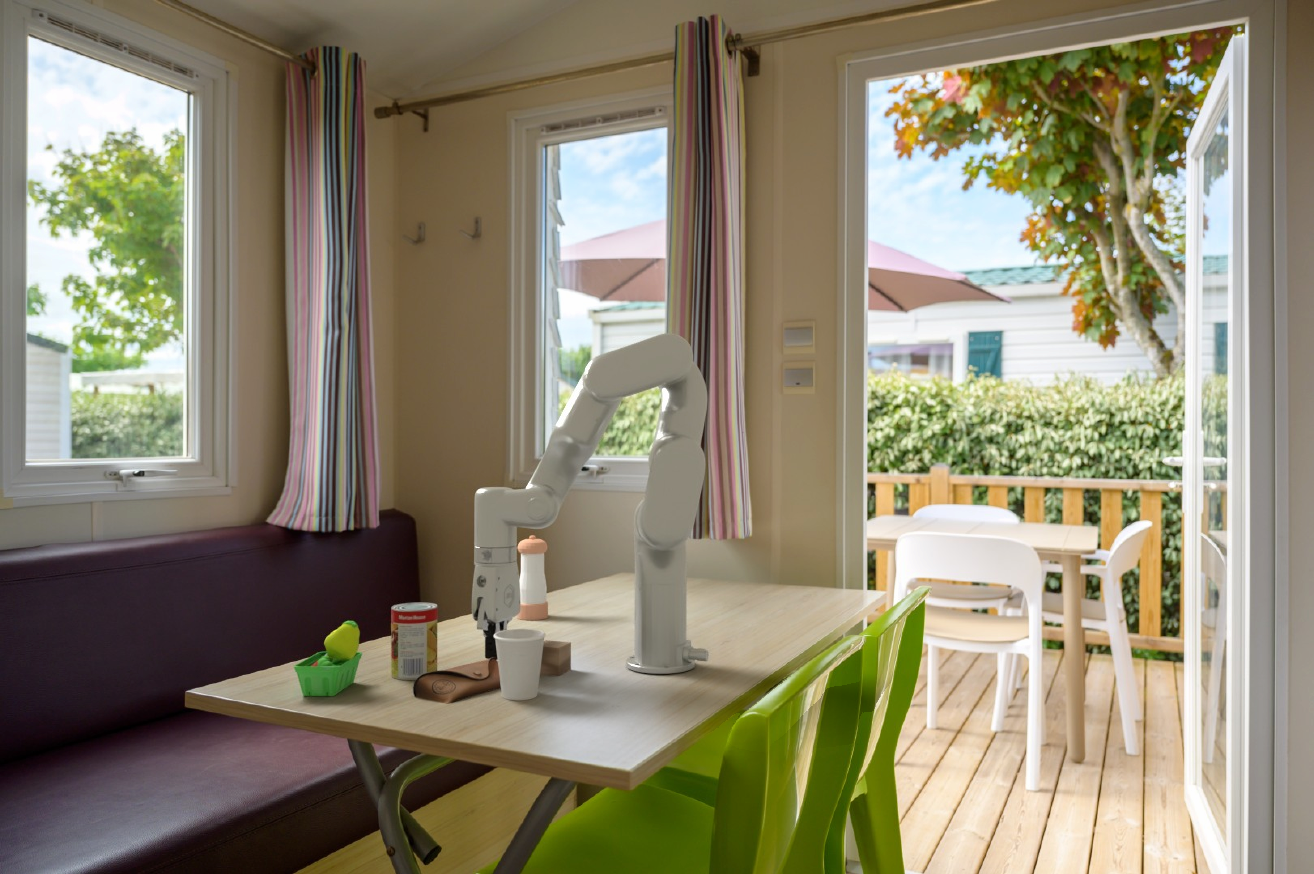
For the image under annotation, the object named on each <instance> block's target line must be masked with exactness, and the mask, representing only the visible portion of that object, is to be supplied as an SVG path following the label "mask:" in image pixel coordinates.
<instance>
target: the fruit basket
mask: <svg viewBox="0 0 1314 874" xmlns="http://www.w3.org/2000/svg"><path fill="white" fill-rule="evenodd" d="M360 634H361V631H360V629H359V625H358V623H357V622H355V621H354V620H347V621H346V620H345V621H344V622H342V623H341V626H339V627H337V629H335V630H333V631H332V632H330V634H328V635H327V636H326V638H325V640H324V642H323V645H324V647H325V651H319V652H316V653H315V654H313V655H312V656H310V657H307V658H305V659H304V660H302V661H300V662H299V663H297V664H295V665H293V668H294V670H295V671H294V672H295V673H296V675H297V679H298V682H299V686H300V689H301V693H302V695H303V697H310V696H311V697H334V696H336V695H337V694H338V693H341V692H342V691H343V690H344V689H346V688H348V687H349V686H351V685H352V684H354V682H355V679H356V675H357V671H358V667H359V663H360V661H361V659H362V656H363V652H361V651H359V647H360Z"/></svg>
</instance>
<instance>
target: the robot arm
mask: <svg viewBox="0 0 1314 874" xmlns="http://www.w3.org/2000/svg"><path fill="white" fill-rule="evenodd" d="M656 387H658V389H659V392H660V399H661V400H660V408H659V412H658V420H657V423H656V424H657V425H656V428H655V433H654V436H653V442H652V446H651V449H650V451H649V453H648V454H649V455H648V459H647V462H648V464H647V465H648V470H649V473H648V478H647V482H646V486H645V491H644V496H643V499H641V501H640V502H639V503H638V505H637V506H636V508H635V510H634V514H633V543H634V545H633V549H634V654H633V655H631V656H628V657H627V659H626V660H625V666H626V668H628V669H629V670H631V671H634V672H638V673H643V674H645V673H646V674H653V675H656V674H657V675H658V674H659V675H663V674H664V675H665V674H678V673H683V672H688V671H690V670H692V669H694V668H695V666H696V664H695V663H696V661H697V662H699V661H700V662H708V661H709V656H710V655H709V654H710V653H709V650H706V648H700V647H699V648H697V647H696V648H695V647H694V646H692V640H691V639H687V581H688V575H687V574H688V568H687V567H688V564H687V563H688V562H687V559H688V558H687V540H688V539H689V537H690V536H691V534H692V531H693V528H694V526H695V521H696V517H697V512H698V507H699V502H700V498H701V493H702V489H703V484H704V479H705V473H706V456H705V452H704V450H703V448H702V446H701V443H702V437H703V433H704V427H705V420H706V415H707V409H708V391H707V385H706V382H705V379H704V376H703V374H702V372H701V370H700V368H699V367H698V365H697V364H696V362H695V361H694V353H693V349H692V347H691V344H690V343H689V342H688V340H686V339H685V338H684V337H682V336H681V335H679V334H676V333H671V332H666V333H665V332H664V333H661V334H657V335H655V336H652V337H649V338H645V339H643V340H640V341H637V342H634V343H631V344H628V345H625V346H623V347H620V348H617V349H613V350H611V351H607V352H604V353H601V354H598V355H597V356H594V357H593V358H592V359H591V360H590V361H589V362H588V363H587V365H586V366H585V368H584V371H583V373H582V375H581V377H580V379H579V380H578V383H577V384H576V386H575V388H574V390H573V392H572V394H571V395H570V398H569V399H568V402H567V403H566V405H565V407H564V409H563V410H562V413H561V414H560V416H559V418H558V420H557V421H556V423H555V425H554V427H553V428H552V432H551V434H550V437H549V440H548V443H547V447H546V448H545V450H544V453H543V455H542V457H541V459H540V461H539V463H538V465H537V467H536V469H535V470H534V472H533V474H532V477H531V478H530V480H529V481H528V483H527V485H526V487H525V488H521V489H520V488H518V489H513V488H511V487H506V486H500V487H499V486H493V487H492V486H490V487H489V486H488V487H480V488H479V489H477V490H476V492H475V494H474V513H473V514H474V516H473V517H474V518H473V519H474V522H473V523H474V531H473V533H474V538H473V540H474V541H473V544H474V547H473V548H474V549H473V553H474V555H473V556H474V557H473V559H474V560H473V565H474V570H473V571H474V572H473V580H472V590H471V591H472V592H471V613H472V619H473V621H475V622H476V630H478V631H482V633H483V637H484V658H485V660H488V659H490V658H492V657H496V659H497V661H498V658H497V650H496V641H495V638H494V634H495V633H497V632H499V631H503V630H508V624H509V623H510V622H511V621H512V620H513V618H515V617H517V615H518V614H519V613H520V609H521V601H520V581H519V580H520V574H519V573H520V572H519V566H518V562H517V559H518V557H517V553H518V552H517V551H518V545H517V543H518V542H517V539H518V538H517V537H518V536H517V535H518V534H517V533H518V532H517V531H518V530H517V529H518V528H525V529H533V530H534V529H535V530H541V529H545V528H548V527H549V526H551V525H552V524H553V523H554V522H555V521H556V520H557V519H558V515H559V512H560V509H561V507H562V505H563V503H564V501H565V500H566V497H567V495H568V494H569V492H570V489H571V488H572V486H573V484H574V483H575V481H576V479H577V477H578V475H579V474H580V472H581V470H582V469H583V468H584V466H585V465H586V463H587V462H588V461H589V460H590V458H591V457H592V456H593V454H594V453H595V451H596V449H597V448H598V446H599V444H600V442H601V441H602V438H603V436H604V434H605V432H606V431H607V429H608V427H609V425H610V424H611V421H612V420H613V417H614V416H615V414H616V413H617V410H618V408H619V406H620V405H621V403H622V401H623V399H624V398H627V397H630V396H634V395H637V394H640V393H642V392H645V391H649V390H651V389H654V388H656Z"/></svg>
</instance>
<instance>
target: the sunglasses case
mask: <svg viewBox="0 0 1314 874" xmlns="http://www.w3.org/2000/svg"><path fill="white" fill-rule="evenodd" d="M499 689H501V685H500V675H499V666H498V660H497V659H496V657H492V658H490V659H485V660H481V661H476V662H473V663H472V662H471V663H468V664H463V665H458V666H454V667H450V668H447V669H442V670H437V671H432V672H428V673H425V674H422V675H421V676H419V677H418V678H417V679H416V680H415V681H414V683H413V686H412V693H413V696H414V698H419V699H422V700H423V699H424V700H426V701H427V700H428V701H432V702H435V703H442V704H445V705H447V704H448V705H449V704H452V703H455V702H458V701H460V700H464V699H467V698H470V697H473V696H478V695H481V694H485V693H488V692H492V691H495V690H499Z"/></svg>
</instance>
